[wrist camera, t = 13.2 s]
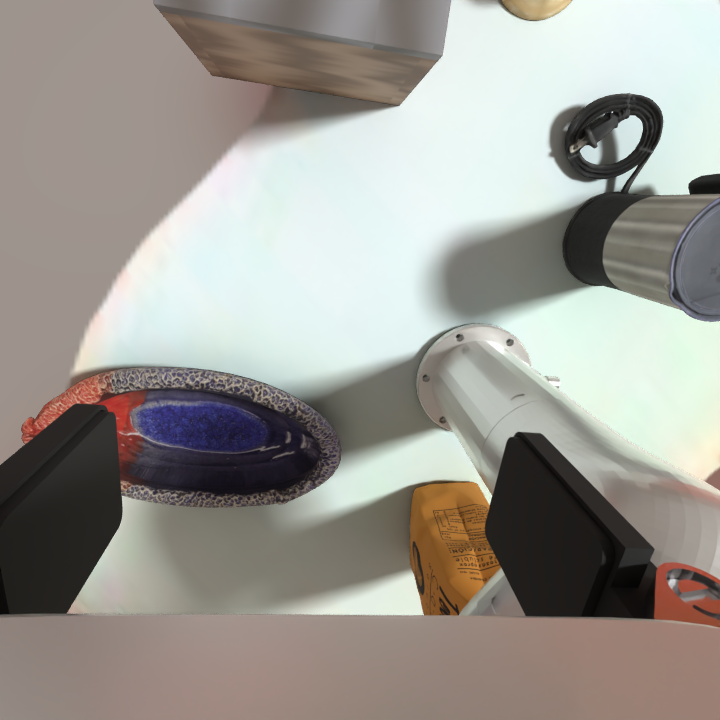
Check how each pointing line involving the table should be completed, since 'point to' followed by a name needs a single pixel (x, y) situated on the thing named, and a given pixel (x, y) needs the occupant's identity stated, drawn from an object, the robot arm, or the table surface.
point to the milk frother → (643, 220)
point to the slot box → (316, 42)
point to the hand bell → (535, 8)
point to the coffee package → (449, 545)
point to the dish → (205, 436)
